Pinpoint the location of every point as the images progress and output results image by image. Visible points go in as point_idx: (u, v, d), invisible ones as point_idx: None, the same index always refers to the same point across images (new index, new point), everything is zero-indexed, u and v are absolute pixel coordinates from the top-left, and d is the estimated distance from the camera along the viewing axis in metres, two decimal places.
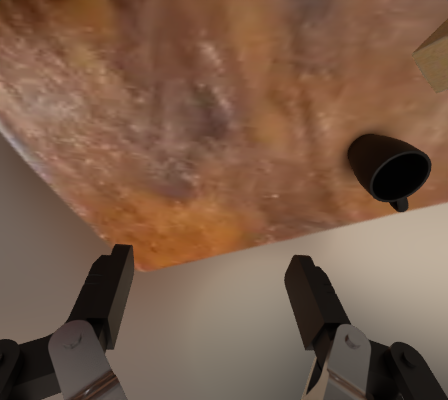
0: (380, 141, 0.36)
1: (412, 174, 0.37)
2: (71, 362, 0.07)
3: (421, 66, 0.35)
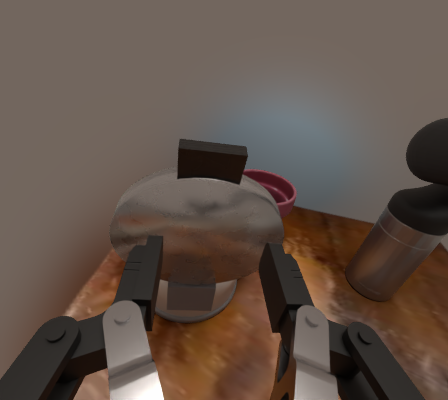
0: None
1: None
2: (125, 336, 0.08)
3: None
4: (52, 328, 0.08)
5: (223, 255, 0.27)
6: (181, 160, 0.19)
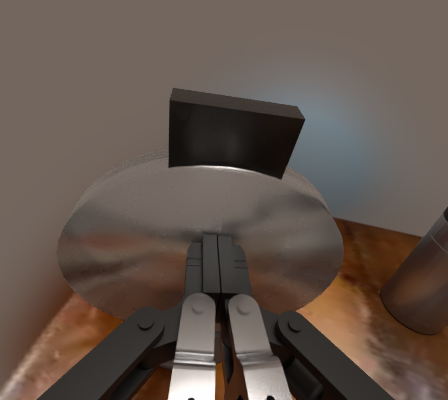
0: None
1: None
2: (206, 326, 0.09)
3: None
4: (145, 316, 0.09)
5: None
6: (175, 128, 0.09)
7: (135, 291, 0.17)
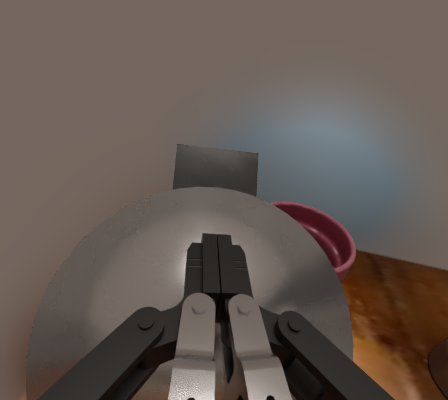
0: None
1: None
2: (206, 326, 0.09)
3: None
4: (145, 315, 0.09)
5: None
6: (180, 160, 0.15)
7: None
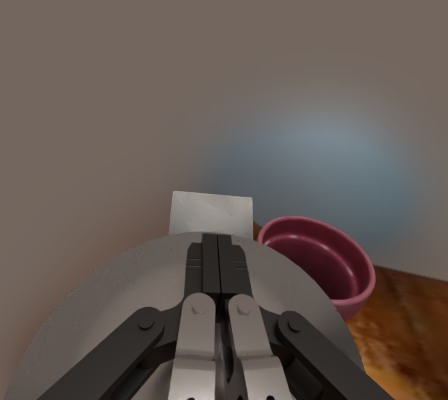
0: None
1: None
2: (206, 326, 0.09)
3: None
4: (145, 315, 0.09)
5: None
6: (175, 206, 0.15)
7: None
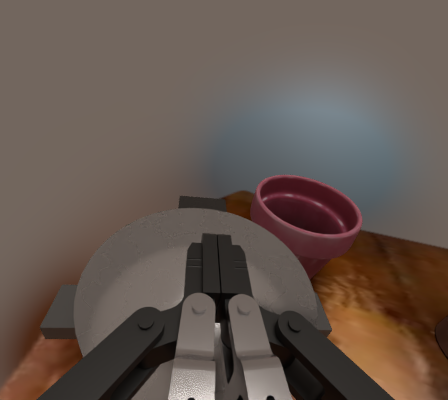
0: None
1: None
2: (206, 326, 0.09)
3: None
4: (145, 316, 0.09)
5: None
6: (181, 201, 0.27)
7: (138, 296, 0.17)
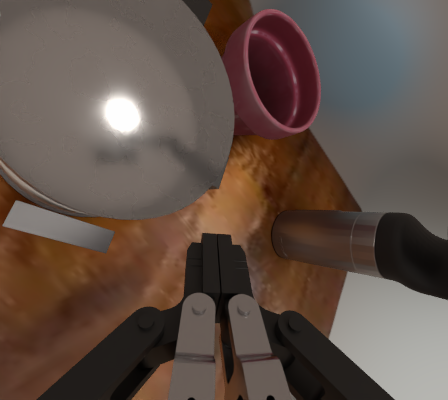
0: None
1: None
2: (206, 326, 0.09)
3: None
4: (145, 315, 0.09)
5: (164, 133, 0.18)
6: None
7: (50, 66, 0.14)
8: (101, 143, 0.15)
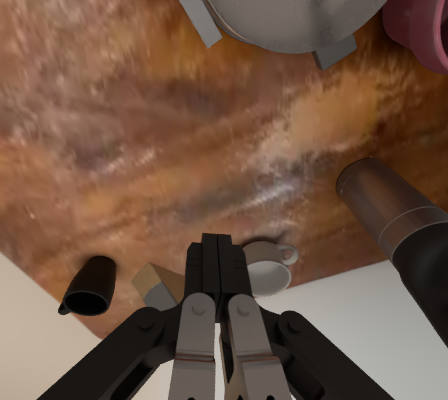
0: (110, 278, 0.50)
1: (92, 305, 0.51)
2: (206, 326, 0.09)
3: (143, 269, 0.57)
4: (145, 316, 0.09)
5: None
6: None
7: None
8: None
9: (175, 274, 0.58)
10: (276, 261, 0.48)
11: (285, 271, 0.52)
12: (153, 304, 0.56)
